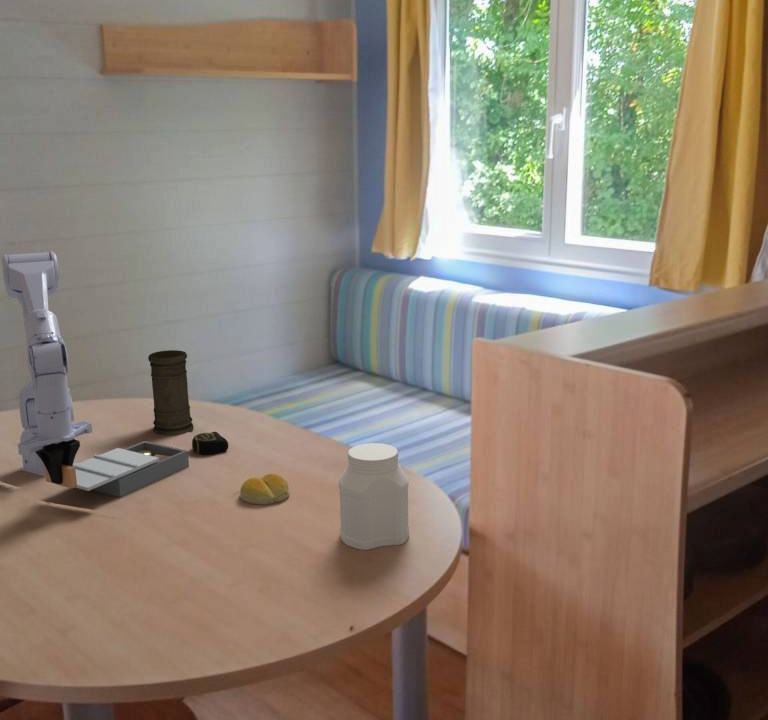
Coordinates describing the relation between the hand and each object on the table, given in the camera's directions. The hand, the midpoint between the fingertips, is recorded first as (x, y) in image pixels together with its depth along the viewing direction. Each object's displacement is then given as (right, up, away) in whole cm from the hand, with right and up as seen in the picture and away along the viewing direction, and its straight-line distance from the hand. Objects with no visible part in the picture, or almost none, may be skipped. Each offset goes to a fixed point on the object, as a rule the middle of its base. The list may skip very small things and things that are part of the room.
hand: (61, 481), depth 169 cm
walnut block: (+14, 0, +17) cm, 22 cm away
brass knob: (+10, +1, +20) cm, 23 cm away
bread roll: (+36, -4, +6) cm, 37 cm away
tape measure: (+22, +2, +30) cm, 37 cm away
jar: (+57, -8, -12) cm, 58 cm away
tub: (+9, -1, +15) cm, 18 cm away
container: (+11, +6, +43) cm, 45 cm away
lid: (+5, +1, +8) cm, 9 cm away
